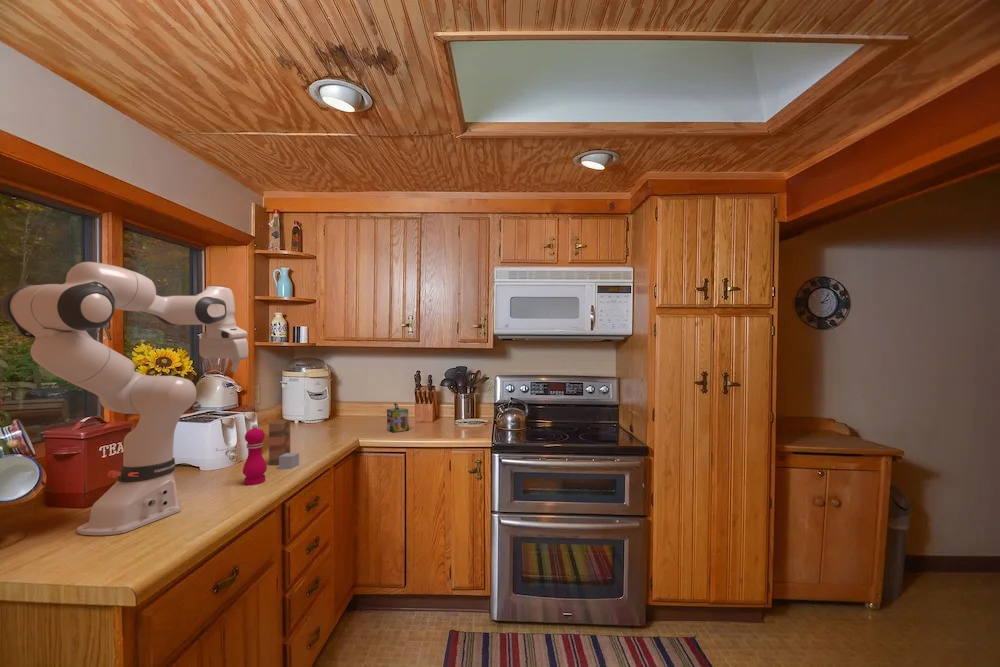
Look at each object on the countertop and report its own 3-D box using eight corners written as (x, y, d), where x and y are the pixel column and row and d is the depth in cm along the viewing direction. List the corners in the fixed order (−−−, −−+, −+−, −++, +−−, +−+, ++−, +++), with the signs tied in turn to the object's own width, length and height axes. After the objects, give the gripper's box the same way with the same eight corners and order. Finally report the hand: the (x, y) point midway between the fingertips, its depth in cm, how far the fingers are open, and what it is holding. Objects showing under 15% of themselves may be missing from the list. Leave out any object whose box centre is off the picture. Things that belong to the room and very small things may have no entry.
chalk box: (409, 430, 228) (408, 403, 228) (392, 433, 222) (392, 404, 223) (402, 427, 235) (402, 401, 235) (386, 430, 230) (386, 402, 230)
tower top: (282, 437, 166) (282, 423, 166) (268, 437, 166) (268, 423, 166) (290, 434, 171) (290, 420, 171) (277, 434, 172) (277, 420, 172)
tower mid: (282, 451, 166) (282, 437, 166) (268, 451, 166) (268, 437, 166) (290, 447, 171) (290, 434, 171) (277, 447, 171) (277, 434, 172)
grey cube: (291, 469, 160) (291, 456, 160) (279, 469, 161) (279, 456, 161) (298, 465, 165) (298, 453, 165) (286, 465, 166) (286, 452, 166)
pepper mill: (239, 482, 146) (239, 424, 146) (262, 477, 151) (262, 421, 151) (246, 487, 141) (246, 427, 141) (269, 481, 146) (269, 423, 147)
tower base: (282, 465, 165) (282, 451, 166) (268, 465, 166) (268, 451, 166) (290, 461, 171) (290, 447, 171) (277, 461, 171) (277, 447, 171)
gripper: (192, 331, 149) (195, 370, 150) (234, 334, 142) (236, 374, 143) (210, 330, 155) (212, 367, 156) (250, 332, 148) (253, 371, 149)
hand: (224, 370), depth 150 cm, fingers open, 8 cm apart
